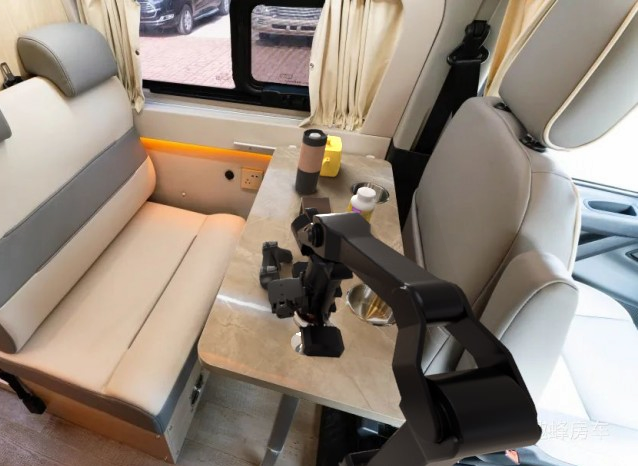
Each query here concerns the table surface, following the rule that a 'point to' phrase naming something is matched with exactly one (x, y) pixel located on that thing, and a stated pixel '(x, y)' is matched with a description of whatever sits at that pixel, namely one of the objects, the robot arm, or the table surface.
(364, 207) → the supplement bottle
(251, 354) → the table surface
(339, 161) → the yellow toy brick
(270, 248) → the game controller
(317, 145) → the travel mug
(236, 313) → the table surface
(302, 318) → the wineglass
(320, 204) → the chute
